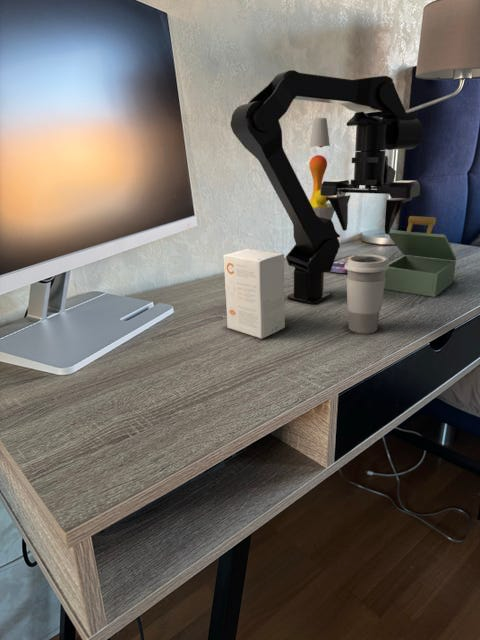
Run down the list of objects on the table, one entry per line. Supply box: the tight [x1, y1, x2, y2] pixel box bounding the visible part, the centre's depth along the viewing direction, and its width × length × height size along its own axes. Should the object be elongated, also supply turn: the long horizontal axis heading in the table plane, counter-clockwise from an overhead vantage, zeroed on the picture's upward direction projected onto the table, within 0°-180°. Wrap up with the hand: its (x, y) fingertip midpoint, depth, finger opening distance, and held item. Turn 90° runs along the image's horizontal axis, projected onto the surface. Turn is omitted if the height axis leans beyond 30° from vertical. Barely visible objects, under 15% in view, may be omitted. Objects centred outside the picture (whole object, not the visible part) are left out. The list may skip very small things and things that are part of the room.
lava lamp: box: [308, 117, 335, 220], centre depth 111 cm, size 9×9×35 cm
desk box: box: [384, 254, 457, 298], centre depth 95 cm, size 12×11×5 cm
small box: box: [223, 248, 286, 339], centre depth 74 cm, size 8×6×13 cm
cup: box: [345, 253, 389, 335], centre depth 73 cm, size 7×7×12 cm
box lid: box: [387, 215, 457, 262], centre depth 94 cm, size 13×11×5 cm
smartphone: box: [330, 255, 351, 274], centre depth 113 cm, size 1×7×15 cm
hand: (365, 232), depth 91 cm, fingers open, 9 cm apart
